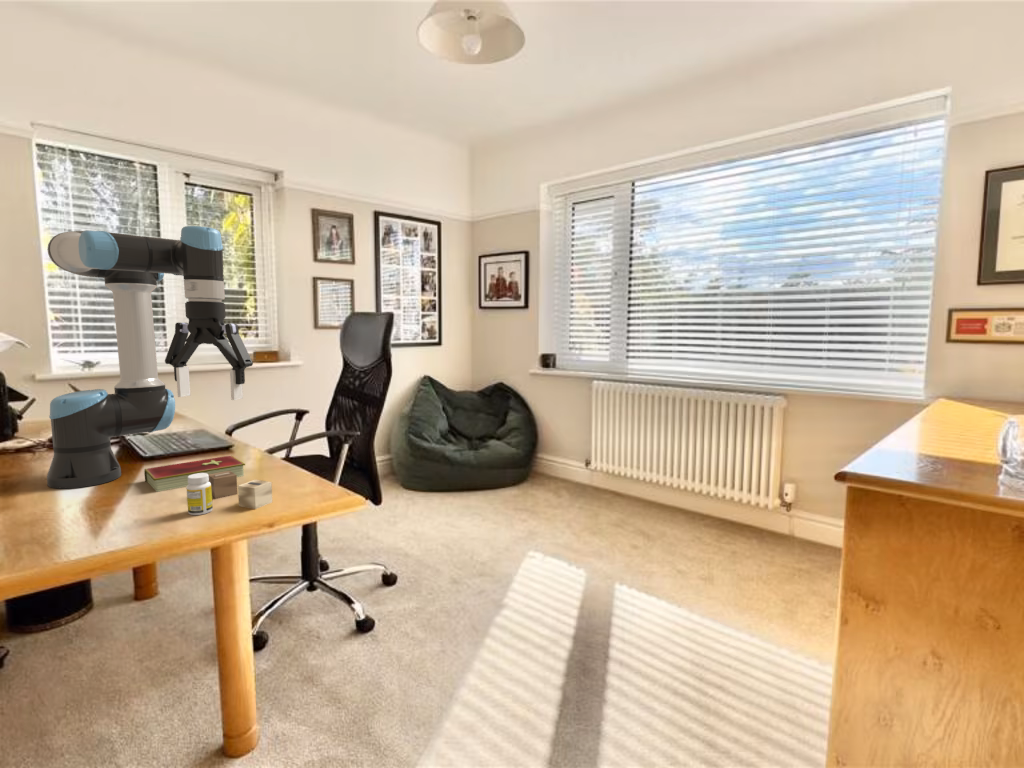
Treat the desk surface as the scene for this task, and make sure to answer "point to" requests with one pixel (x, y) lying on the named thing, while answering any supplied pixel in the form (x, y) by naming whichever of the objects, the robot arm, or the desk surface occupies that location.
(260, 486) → the beech block
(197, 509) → the supplement bottle
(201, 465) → the hardcover book
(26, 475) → the desk surface
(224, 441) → the desk surface
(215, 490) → the walnut block
